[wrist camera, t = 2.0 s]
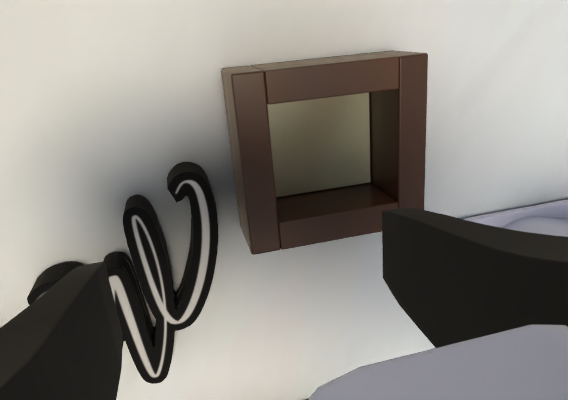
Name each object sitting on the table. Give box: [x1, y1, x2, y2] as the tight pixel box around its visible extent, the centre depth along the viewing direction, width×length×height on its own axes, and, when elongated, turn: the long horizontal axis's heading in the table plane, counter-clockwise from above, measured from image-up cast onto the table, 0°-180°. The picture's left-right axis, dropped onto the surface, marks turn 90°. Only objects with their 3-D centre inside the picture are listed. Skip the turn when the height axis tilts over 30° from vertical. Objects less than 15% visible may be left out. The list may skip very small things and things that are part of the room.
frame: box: [221, 51, 428, 254], centre depth 19 cm, size 8×7×3 cm
